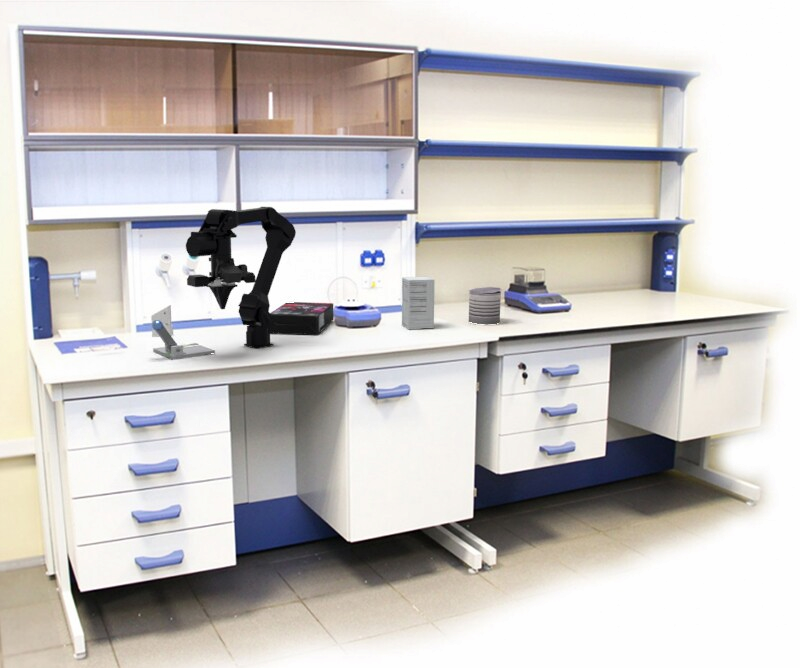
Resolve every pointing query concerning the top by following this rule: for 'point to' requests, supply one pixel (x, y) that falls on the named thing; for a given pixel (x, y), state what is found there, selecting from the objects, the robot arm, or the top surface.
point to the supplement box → (417, 302)
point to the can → (484, 305)
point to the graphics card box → (302, 318)
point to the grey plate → (163, 320)
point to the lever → (163, 334)
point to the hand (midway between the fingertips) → (222, 309)
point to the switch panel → (183, 351)
